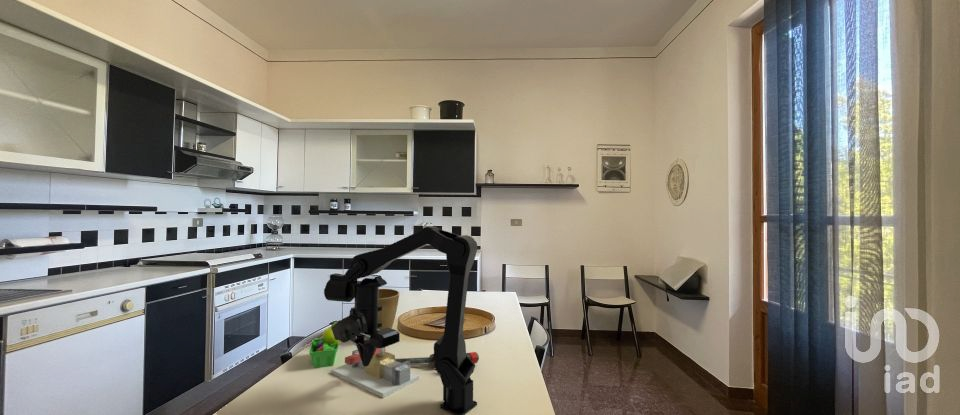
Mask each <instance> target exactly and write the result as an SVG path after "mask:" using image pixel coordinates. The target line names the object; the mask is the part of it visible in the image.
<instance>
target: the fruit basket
mask: <svg viewBox="0 0 960 415" xmlns="http://www.w3.org/2000/svg"><path fill="white" fill-rule="evenodd" d="M337 322H338V321H335V322H333V323H332V325H331V326H330V327H327V329H324V331H323V333H322V337H321V338H320V337H319V338H315V339H313V340H312V342H311V345H310V348H309V351H308V352H309V355H310V357H311V361H312V365H313V368H314V369H316V368H323V367H329V366H330V367H331V366H334V363H335V359H336V355H337V352H338V349H339V342H340V341H339V340H335V338H334V335H333V332H332V329H331V327H332V326H333V325H335V324H336V323H337Z"/></svg>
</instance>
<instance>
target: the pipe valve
mask: <svg viewBox="0 0 960 415" xmlns="http://www.w3.org/2000/svg"><path fill="white" fill-rule="evenodd" d="M351 352H352V353H351V355H353V354H358V353H359V352H358V349H355V350H352V351H351ZM395 359H396V355H395V354H393V353H389V352H387V351H386V350H385V351H384V355H382V356H377V355H373V357H372V359H371V361H370V363H369V365H368V366H366V367H365V366H363V364H362V361H360V362H357V363H355V364H352V367H353V368H355V367H358V368H360V369H363V370H365V373H367V374H369V375H372V376H374V377H376V378H379V379H380V378H384V379H386V380H388V381H391V382H392V385H397V384H398V385H402V384H404V383H406V382H408V381H410V372H411V364H410V361H408V360H407V361H405V362H403V363H400V362H397V361H395Z"/></svg>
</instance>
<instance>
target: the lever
mask: <svg viewBox="0 0 960 415" xmlns="http://www.w3.org/2000/svg"><path fill="white" fill-rule="evenodd" d="M384 351H385V352H386V347H384V348H377V349H376V351H375V353H374V355H377V356H382V355H384ZM360 361H361V358H360V355H359V353H358V354H353V355H352V354H351V355H348V356H345V357H344V364H348V365H352V364H355V363H357V362H360Z"/></svg>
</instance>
